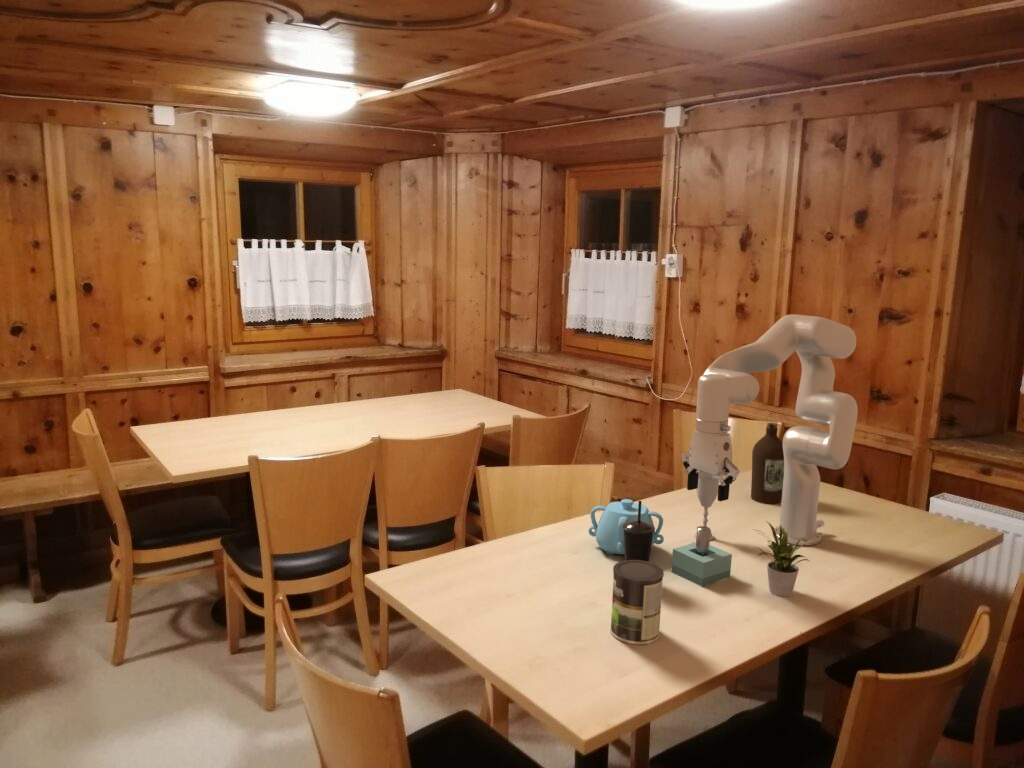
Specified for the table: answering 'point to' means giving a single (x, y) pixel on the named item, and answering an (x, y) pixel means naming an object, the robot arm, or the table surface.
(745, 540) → the table surface
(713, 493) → the chalice
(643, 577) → the coffee can
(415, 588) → the table surface
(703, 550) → the pin
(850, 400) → the robot arm
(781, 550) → the house plant
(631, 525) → the drinking cup
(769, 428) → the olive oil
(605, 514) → the decorative pot
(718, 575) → the bore block
